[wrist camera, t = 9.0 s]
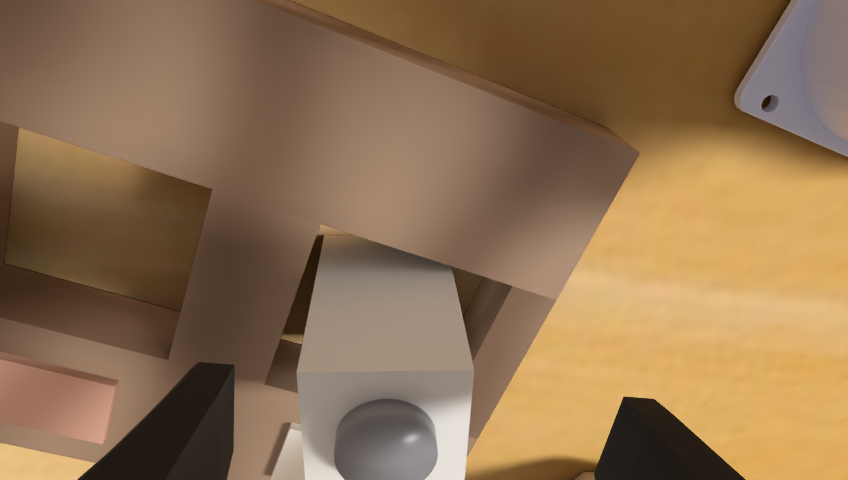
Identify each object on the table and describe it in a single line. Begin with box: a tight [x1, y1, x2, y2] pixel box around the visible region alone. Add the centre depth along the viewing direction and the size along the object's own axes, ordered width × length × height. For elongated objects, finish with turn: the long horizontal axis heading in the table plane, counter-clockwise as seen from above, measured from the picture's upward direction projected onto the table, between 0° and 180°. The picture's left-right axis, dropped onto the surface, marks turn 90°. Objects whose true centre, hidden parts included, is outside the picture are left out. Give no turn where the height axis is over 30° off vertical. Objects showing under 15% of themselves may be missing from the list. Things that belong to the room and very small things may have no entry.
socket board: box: [0, 0, 640, 480], centre depth 18 cm, size 18×16×3 cm
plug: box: [297, 235, 474, 480], centre depth 17 cm, size 4×4×8 cm
